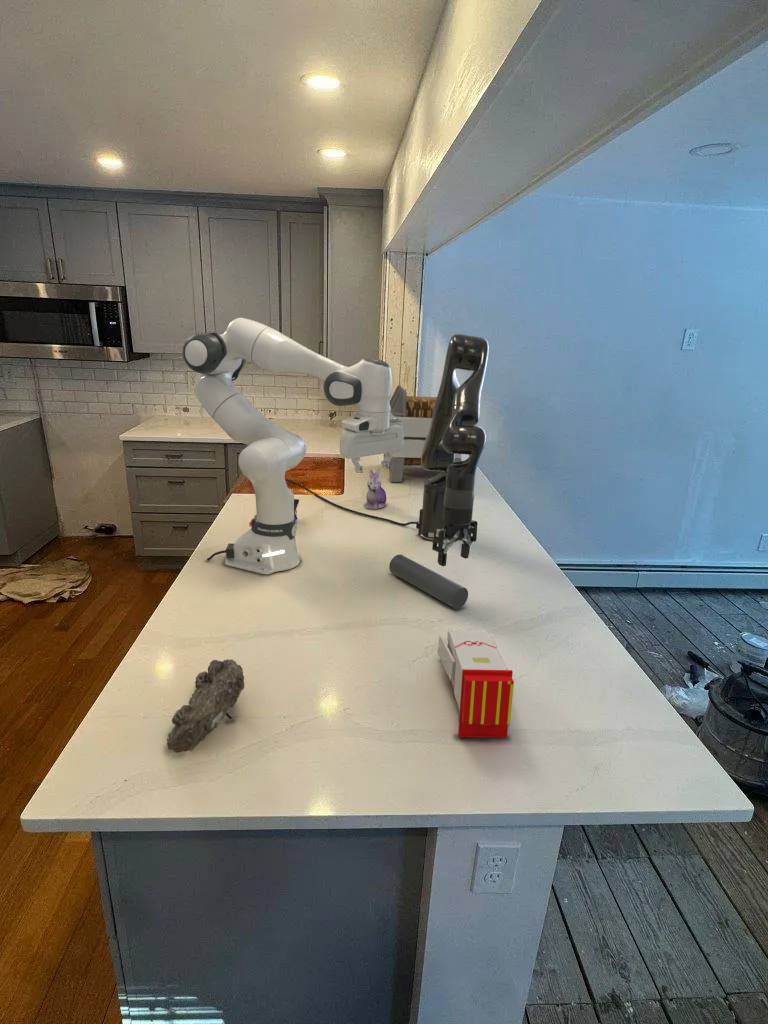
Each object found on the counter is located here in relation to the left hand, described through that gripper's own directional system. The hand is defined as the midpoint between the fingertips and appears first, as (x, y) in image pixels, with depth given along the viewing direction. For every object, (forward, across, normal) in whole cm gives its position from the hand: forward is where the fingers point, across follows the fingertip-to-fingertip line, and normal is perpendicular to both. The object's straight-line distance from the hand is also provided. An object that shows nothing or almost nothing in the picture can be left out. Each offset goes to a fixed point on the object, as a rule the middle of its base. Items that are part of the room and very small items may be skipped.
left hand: (372, 469), depth 158 cm
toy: (+32, +17, +56) cm, 67 cm away
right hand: (+20, -7, +27) cm, 34 cm away
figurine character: (+32, -1, -48) cm, 58 cm away
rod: (+32, -7, +18) cm, 37 cm away
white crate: (+32, -89, -72) cm, 119 cm away
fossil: (+32, +63, +32) cm, 77 cm away
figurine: (+32, -40, -46) cm, 69 cm away
